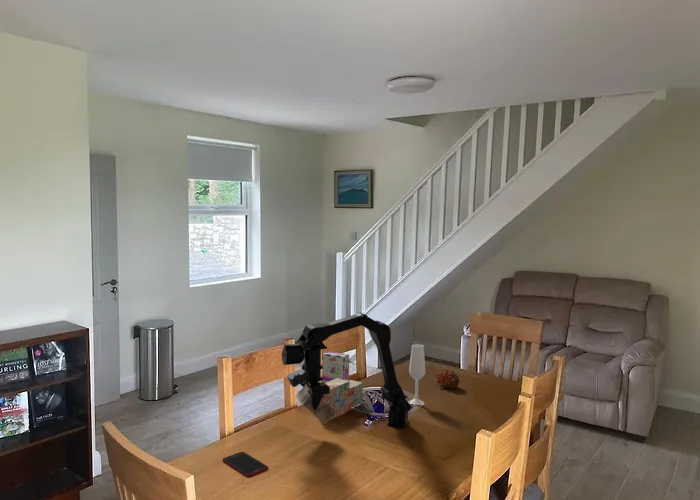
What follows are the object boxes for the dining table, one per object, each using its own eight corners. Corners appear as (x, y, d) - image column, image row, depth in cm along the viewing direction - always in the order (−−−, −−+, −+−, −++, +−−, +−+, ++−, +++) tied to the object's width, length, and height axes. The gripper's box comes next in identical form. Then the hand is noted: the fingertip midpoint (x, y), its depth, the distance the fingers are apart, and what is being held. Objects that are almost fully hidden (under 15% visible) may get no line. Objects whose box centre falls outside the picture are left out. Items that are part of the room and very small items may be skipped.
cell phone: (242, 453, 172) (242, 451, 172) (269, 470, 162) (269, 467, 162) (221, 461, 167) (221, 458, 167) (248, 479, 156) (248, 476, 156)
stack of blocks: (350, 401, 221) (351, 372, 220) (362, 405, 217) (363, 375, 216) (316, 416, 204) (317, 385, 203) (329, 421, 200) (329, 388, 199)
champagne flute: (423, 406, 216) (425, 348, 214) (407, 405, 217) (408, 347, 215) (424, 400, 222) (426, 344, 221) (408, 399, 224) (410, 343, 222)
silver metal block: (330, 406, 189) (305, 384, 185) (336, 412, 184) (311, 389, 180) (319, 418, 188) (295, 396, 184) (325, 424, 183) (299, 401, 179)
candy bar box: (349, 391, 233) (350, 354, 231) (343, 394, 228) (344, 357, 227) (327, 386, 238) (327, 350, 236) (321, 390, 233) (321, 353, 232)
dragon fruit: (458, 395, 235) (437, 391, 244) (466, 380, 240) (445, 377, 249) (449, 381, 232) (428, 378, 241) (458, 367, 237) (437, 364, 246)
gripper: (282, 357, 188) (281, 400, 189) (298, 372, 171) (297, 419, 172) (312, 354, 192) (311, 396, 193) (330, 368, 175) (330, 415, 176)
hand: (312, 406), depth 184 cm, fingers closed on silver metal block, 5 cm apart
